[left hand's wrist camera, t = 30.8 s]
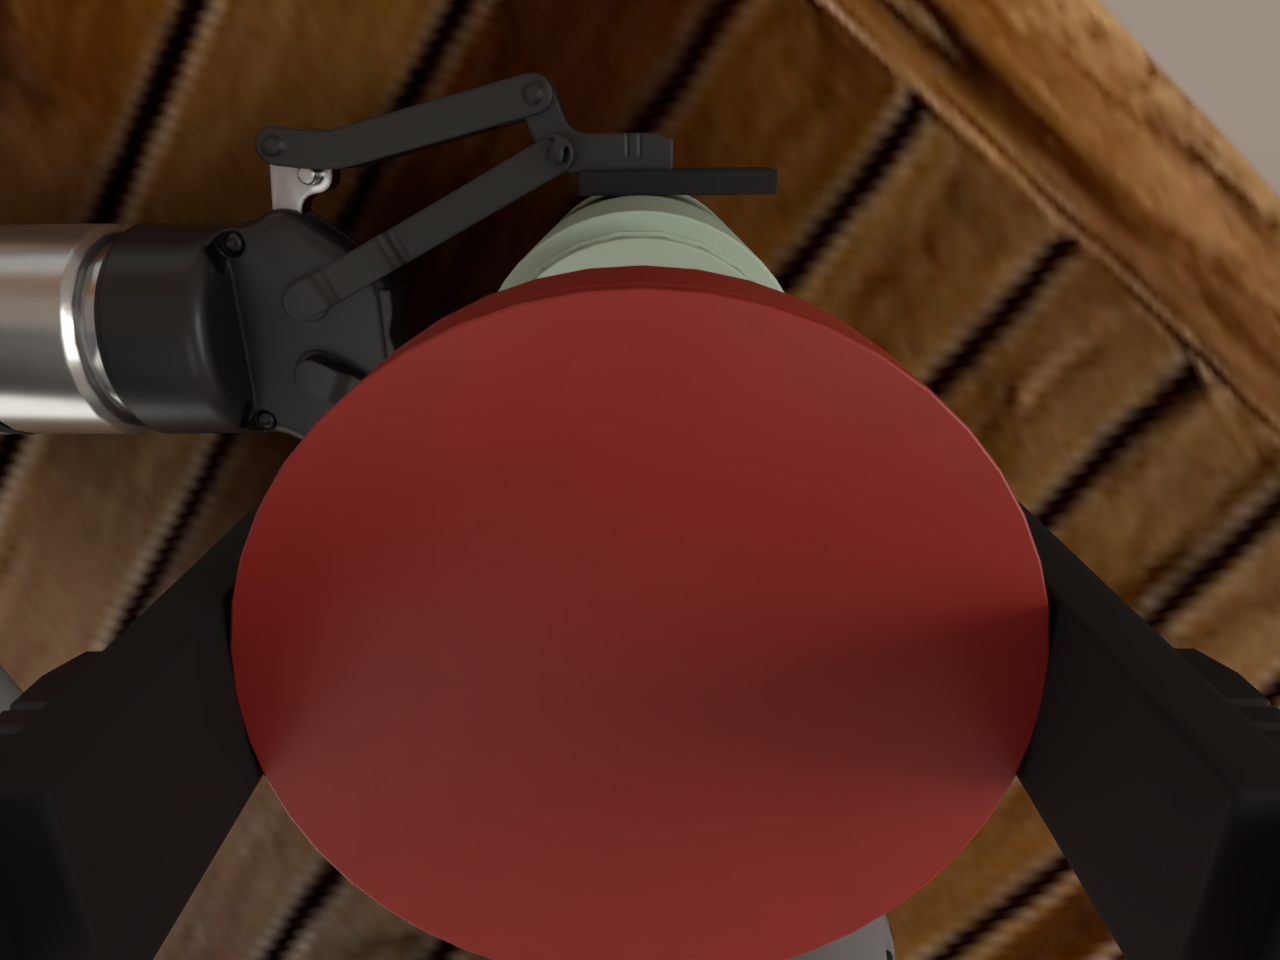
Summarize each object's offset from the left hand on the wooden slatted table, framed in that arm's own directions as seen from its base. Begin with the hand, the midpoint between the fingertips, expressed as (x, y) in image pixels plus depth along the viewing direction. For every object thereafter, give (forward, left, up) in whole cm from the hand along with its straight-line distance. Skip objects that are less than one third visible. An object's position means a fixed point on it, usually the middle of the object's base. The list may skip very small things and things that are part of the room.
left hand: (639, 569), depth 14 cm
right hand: (+3, -4, -19) cm, 19 cm away
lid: (0, 0, +3) cm, 3 cm away
